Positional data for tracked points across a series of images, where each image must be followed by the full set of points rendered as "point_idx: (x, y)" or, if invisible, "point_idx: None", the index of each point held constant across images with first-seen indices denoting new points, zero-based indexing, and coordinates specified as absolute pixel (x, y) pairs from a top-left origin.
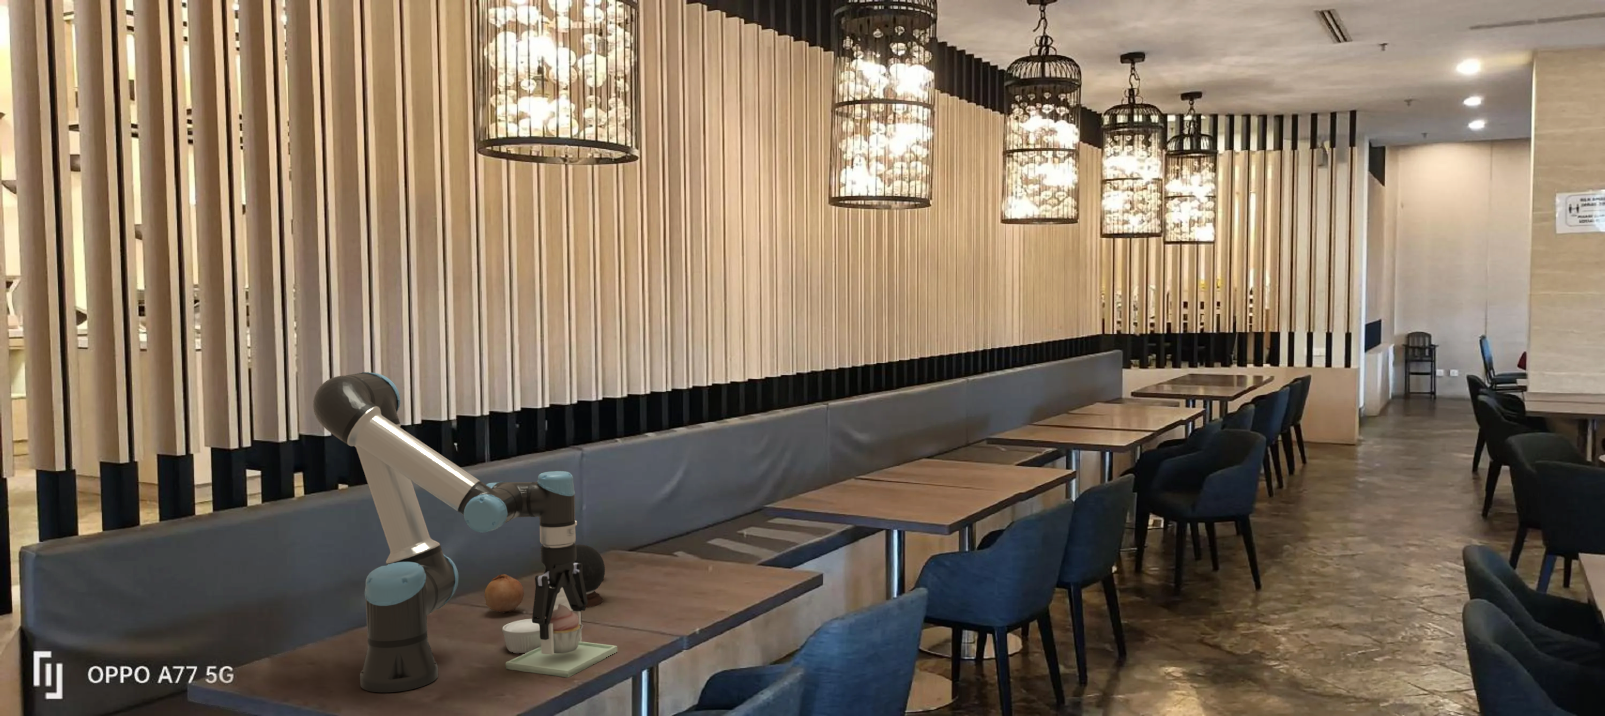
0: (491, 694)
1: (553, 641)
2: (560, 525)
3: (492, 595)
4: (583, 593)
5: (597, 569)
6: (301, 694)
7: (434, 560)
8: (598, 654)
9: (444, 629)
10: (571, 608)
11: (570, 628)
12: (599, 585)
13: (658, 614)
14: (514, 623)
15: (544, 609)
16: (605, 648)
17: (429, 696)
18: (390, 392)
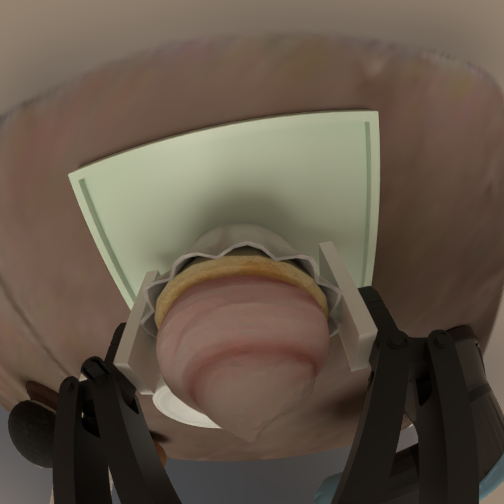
0: (488, 210)
1: (332, 272)
2: None
3: (162, 462)
4: (69, 433)
5: (17, 422)
6: None
7: None
8: (165, 146)
9: (233, 443)
10: (137, 399)
11: (262, 277)
12: (22, 401)
13: None
14: (216, 424)
15: (453, 395)
16: (95, 204)
17: (488, 288)
18: None
